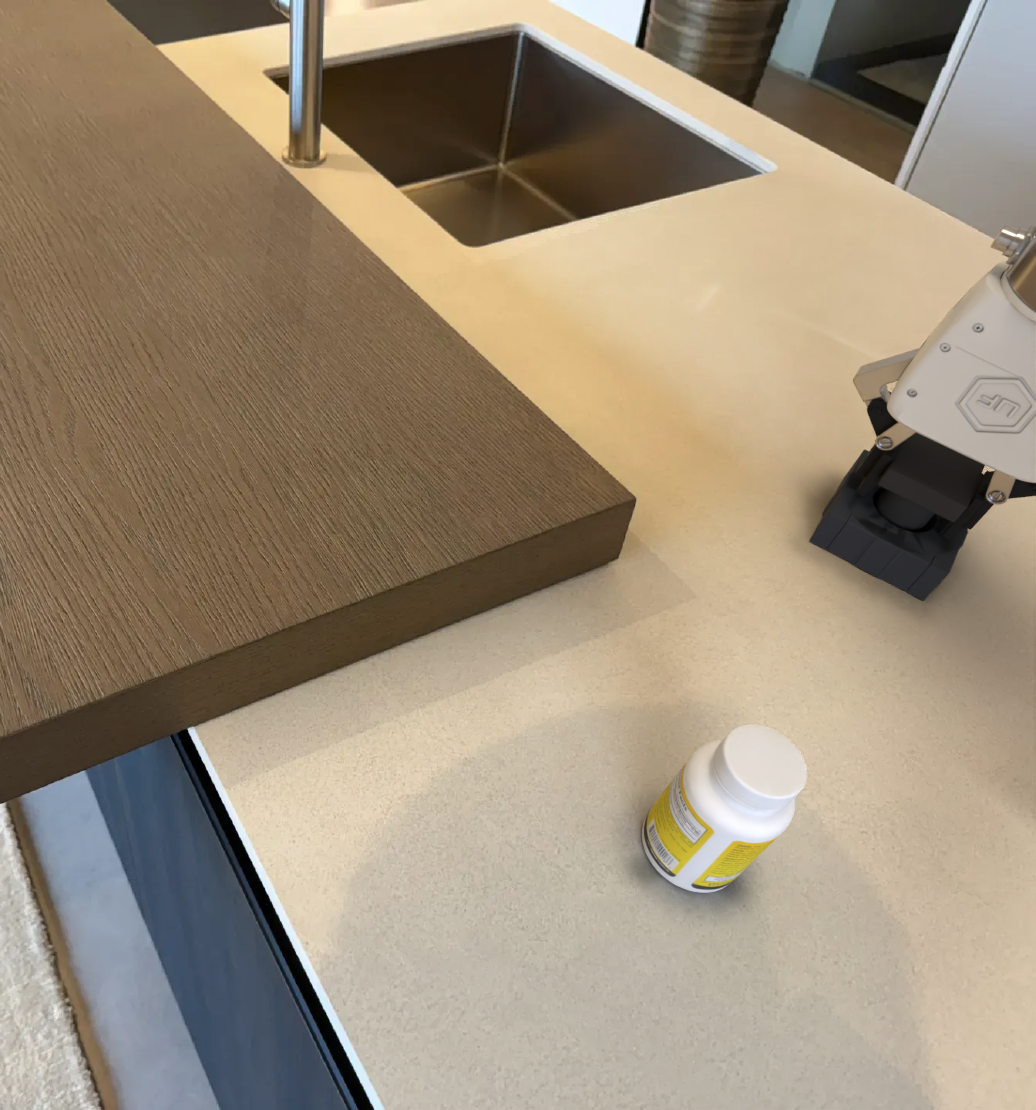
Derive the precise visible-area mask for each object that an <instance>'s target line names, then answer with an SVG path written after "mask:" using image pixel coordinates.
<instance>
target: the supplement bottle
mask: <svg viewBox="0 0 1036 1110" xmlns="http://www.w3.org/2000/svg"><path fill="white" fill-rule="evenodd" d="M796 745H797V744H795V743H794V742H793V741H792V740H791V739H790V738H789V737H787V736H786V735H784V734H783V733H782V732H780V731H778V730H776V729H774V728H772V727H769V726H766V725H763V724H759V723H758V724H757V723H747V724H742V725H739V726H736V727H734V728H733V729H731V730H730V731H729V732H728V733H727V734H726V736H725V737H724V738H723V739H717V740H712V741H709V742H707V743H705V744H703V745H702V746H700V747H698V748H697V749H696V750H695V751H694V752H693V753H692V755H690V756H689V757H688V759H687V760H686V761H685V763H684V764H683V766H682V767H681V768H680V769H679V771H678V772H677V774H676V775H675V776H674V777H673V778H672V780H671V781H670V783H669V784H668V785H667V786H666V788H665V789H664V790H663V791H662V793H661V794H660V796H659V797H658V798H657V800H656V801H655V802H654V804H653V805H652V806H651V808H649V810H648V812H647V814H646V816H645V817H644V820H643V824H642V830H641V839H642V840H641V841H642V845H643V849H644V852H645V854H646V857H647V858H648V860H649V862H650V863H651V865H652V866H653V867H654V868H655V870H656V871H657V872H658V873H659V874H660V875H661V876H662V877H663V878H664V879H665V880H667V881H669V882H670V883H671V884H672V885H675V886H676V887H679V888H681V889H683V890H685V891H689V892H694V893H702V894H703V893H704V894H705V893H714V892H717V891H720V890H723V889H724V888H726V887H728V886H729V885H730V884H731V883H733V882H734V881H735V880H736V879H737V878H738V877H739V876H740V875H741V874H742V873H743V872H744V871H745V870H746V869H747V868H748V867H749V866H750V865H751V864H752V863H753V862H754V861H755V860H756V859H757V858H758V857H759V856H760V855H761V854H762V853H763V852H764V851H766V849H767V848H769V846H770V845H772V843H773V842H775V841H776V840H777V839H778V838H779V837H780V836H781V835H782V834H783V833H784V832H785V831H786V829H788V827H789V825H790V824H791V822H792V821H793V818H794V816H795V810H796V797H797V796H798V795H799V794H800V793H801V791H803V790H804V787H805V785H806V783H807V780H808V766H807V763H806V760H805V758H804V756H803V753H802V752H801V750H800V749H799V748H798V746H796Z"/></svg>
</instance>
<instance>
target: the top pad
mask: <svg viewBox="0 0 1036 1110" xmlns="http://www.w3.org/2000/svg"><path fill="white" fill-rule="evenodd" d="M985 467H986V465H984V464H981V463H979V462H977V461H975V460H973V459H971V458H969V457H967V456H964V455H962V454H960V453H958V452H956V451H954V450H952V449H950V448H948V447H946V446H943V445H941V444H939V443H937V442H935V441H933V440H931V439H929V438H927V437H925V436H923V435H921V434H919V433H917V432H916V433H915V434H914V435H912V436H911V437H909V438H908V439H906V440H905V442H904V444H903V446H902V448H901V450H900V452H899V454H898V456H897V458H896V459H895V460H894V461H893V462H892V464H891V465H890V466H889V468H888V469H887V470H886V471H885V473H884V474H883V475H882V477H881V479H880V481H879V483H878V485H879V486H881V487H883V488H885V489H884V491H883V492H882V493H881V494H880V496H879V497H878V498H877V501H876V508H877V510H878V512H879V514H880V515H881V516H882V517H883V518H884V519H886V520H887V521H888V522H889V523H890V524H892V525H894V526H896V527H898V528H900V529H902V530H909V531H915V530H919V529H921V528H923V527H924V526H925V525H926V524H927V523H928V522H929V520H930V519H931V518H932V517H933V516H934V515H935V513H936V514H938V515H940V516H942V517H944V518H946V519H948V520H950V521H952V522H955V521H956V520H957V519H958V517H959V516H960V515H961V514H962V513H963V512H964V511H965V510H966V508H967V507H968V505H969V502H970V500H971V496H972V494H973V491H974V489H975V487H976V484H977V482H978V480H979V477H980V475H981V473H982V474H983V471H984V469H985Z"/></svg>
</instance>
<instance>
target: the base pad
mask: <svg viewBox="0 0 1036 1110" xmlns="http://www.w3.org/2000/svg"><path fill="white" fill-rule="evenodd" d="M869 451H870V450H867V449H863V450H862V452H861V453H860V454H859V456H858V457H857V459H856V460H855V461H854V462H853V464H852V466H851V467H850V468H849V470H848V471H847V472H846V474H845V475H844V477H843V478H842V480H841V482H840V484H839V486H838V487H837V489H836V491H835V492H834V494H833V495H832V496H831V498H830V499H829V500H828V503H827V505H826V506H825V508H824V509H823V512H822V514H821V515H822V517H821V519H820V520H819V522H818V524H817V526H816V527H815V528H814V531H813V533H812V535H811V537H810V538H809V542H810V543H812V544H814V545H816V546H818V547H820V548H821V549H823V550H826V551H827V552H829V553H831V554H833V555H835V556H837V557H839V558H841V559H842V560H845V561H846V562H848V563H850V564H851V565H852V566H854V567H856V568H858V569H860V570H861V571H863V572H865V573H867V574H869V575H871V576H873V577H875V578H877V579H880V580H882V581H885V582H886V583H888V584H890V585H892V586H894V587H896V588H898V589H900V590H902V591H904V592H906V593H908V594H909V595H911V596H913V597H914V598H917V599H919V600H921V601H922V602H924V601H925V600H927V598H928V597H929V596H930V595H931V594H932V593H933V592H934V591H935V590H936V588H938V587H939V585H940V584H941V583H942V582H943V581H944V580H945V579H946V578H947V577H948V576H949V575H950V573H951V570H952V568H953V565H954V563H955V560H956V558H957V556H958V553H959V550H960V549H962V548H963V546H964V543H965V541H966V539H967V537H968V534H969V529H967V528H965V527H963V526H962V527H961V528H960V529H959V530H958V531H957V532H956V533H955V534H954V535H953V537H952V538H951V539H950V540H947V539H945V538H943V537H941V534H939V532H940V529H941V527H942V525H943V523H944V520H945V518H944V517H942V516H940V515H938V514H936V513H935V515H934V516H933V517H932V518H931V519H930V520H929V522H928V523H927V524H926V525H925V526H924V527H923V528H921V529H919V530H915V531H909V530H903V529H900V528H898V527H896V526H894V525H892V524H890V523H889V522H888V521H887V520H886V519H884V518H883V517H882V516H881V515H880V514H879V512H878V510H877V508H876V501H877V498H878V497H879V496H880V494H881V493H882V492H883V491H884V489H885V488H883V487H881V486H879V485H878V483H879V482H878V483H877V484H876V486H875V487H874V488H873V490H872V491H871V492H870V493H869V495H868V496H867V497H866V496H863V497H861V496H859V495H857V494H855V493H856V491H857V489H858V487H859V485H860V484H861V482H862V480H863V478H864V477H863V476H861V475H859V474H857V473H856V471H857V469H858V467H859V465H860V464H861V462H862V461H863V459H864V458H865V456H866V455H867V454H868V452H869ZM879 481H880V480H879Z"/></svg>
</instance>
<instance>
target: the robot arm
mask: <svg viewBox="0 0 1036 1110" xmlns="http://www.w3.org/2000/svg"><path fill="white" fill-rule="evenodd" d="M989 248H991V249H993V250H996V251H999V252H1001V255H1002V256H1003V257H1006V258H1007V259H1006V260H1004V261H1001V262H998V263H997V264H995V265H994V266H993V267H992V268H991V269H989V270H988V271H987V272H986V273H984V275H983V276H982V277H981V278H980V279H979V280H977V282H976V283H975V284H974V285H973V286H971V287H970V288H969V290H968V291H967V292H966V293H965V294H964V295H963V296H962V297H961V298H960V299H959V300H958V301H957V302H956V303H955V304H954V306H953V307H952V308H951V309H950V310H949V311H948V312H947V314H946V315H945V316H944V317H943V318H942V320H941V321H940V322H939V323H938V324H937V325H936V327H934V329H933V330H932V332H930V334H929V335H928V336H927V338H926V339H925V340H924V341H923V342H922V344H921V345H920V347H918V348H916V349H911V350H908V351H906V352H903V353H899V354H896V355H893V356H889V357H886V358H883V359H879V360H876V361H874V362H873V361H872V362H870V363H867V364H863V365H861V366H860V367H859V368H858V370H857V372H856V374H854V376H853V378H852V384H853V385H854V387H855V389H856V391H857V394H859V396H860V398H861V400H862V402H863V403H864V404H865V406H866V413H867V415H868V418H869V421H870V423H871V426H872V429H873V431H874V434H875V437H876V438H875V440H874V444H873V445H872V446H871V448H870V449H869V450H868V451H869V452H868V454H867V455H866V456H865V458H864V459H863V461H862V462H861V464H860V465H859V467H858V469H857V471H856V473H857V474H859V475H861V476H863V477H864V478H863V480H862V482H861V484H860V485H859V487H858V489H857V491H856V493H855V494H857V495H859V496H861V497H863V496H866V497H867V496H868V495H869V493H870V492H871V491H872V490H873V488H874V487H875V486H876V484H877V483H878V482H879V480H880V479H881V477H882V475H883V474H884V473H885V471H886V470H887V469H888V468H889V466H890V465H891V464H892V462H893V461H894V460H895V459H896V458H897V456H898V454H899V452H900V450H901V448H902V446H903V444H904V442H905V440H906V439H908V438H909V437H911V436H912V435H914V434H915V433H916V432H917V433H919V434H921V435H923V436H925V437H927V438H929V439H931V440H933V441H935V442H937V443H939V444H941V445H943V446H946V447H948V448H950V449H952V450H954V451H956V452H958V453H960V454H962V455H964V456H967V457H969V458H971V459H973V460H975V461H977V462H979V463H981V464H984V465H985V467H988V468H990V469H993V470H991V471H989V470H986V471H985V472H984V473H983V472H982V473H981V475H980V477H979V480H978V482H977V484H976V487H975V489H974V491H973V494H972V496H971V500H970V502H969V505H968V507H967V508H966V510H965V511H964V512H963V513H962V514H961V515H960V516H959V517H958V519H957V520H956V521H955V522H952V521H950V520H948V519H946V518H945V520H944V523H943V525H942V527H941V529H940V532H939V534H941V537H943V538H945V539H947V540H950V539H951V538H952V537H953V535H954V534H955V533H956V532H957V531H958V530H959V529H960V528H961V527H962V526H963V527H965V528H967V529H968V531H970V530H972V529H973V528H974V527H976V525H977V524H978V523H979V522H980V520H981V519H982V518H983V517H984V516H985V515H986V514H987V513H988V512H989V510H990V509H992V507H994V506H995V505H997V506H999V505H1003V504H1005V503H1006V502H1008V500H1011V499H1019V498H1029V497H1036V226H1035V225H1033V224H1031V225H1030V226H1029V228H1028V229H1026V228H1024V227H1019V228H1016V227H1013V226H1010V225H1008V224H1004V225H1003V226H1002V228H1001V229H1000V230H999V232H998V233H997V235H996V236H995V238H994V240H993V241H992V243H991V244H990V245H989ZM895 382H896V383H895ZM892 383H895V385H894V387H893V388H892V390H891V391H890V390H889V389H888V385H889V384H892Z"/></svg>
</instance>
